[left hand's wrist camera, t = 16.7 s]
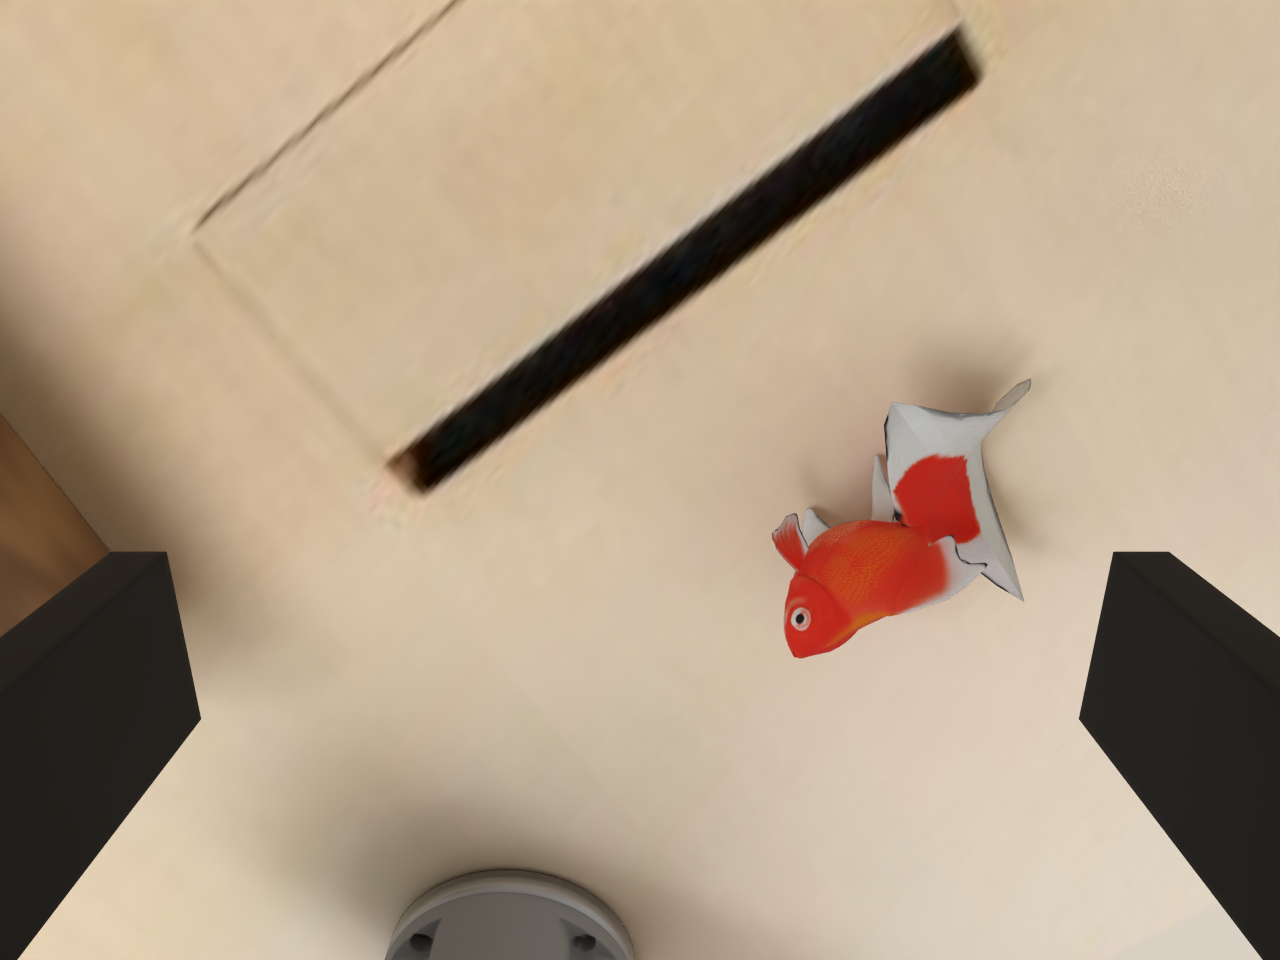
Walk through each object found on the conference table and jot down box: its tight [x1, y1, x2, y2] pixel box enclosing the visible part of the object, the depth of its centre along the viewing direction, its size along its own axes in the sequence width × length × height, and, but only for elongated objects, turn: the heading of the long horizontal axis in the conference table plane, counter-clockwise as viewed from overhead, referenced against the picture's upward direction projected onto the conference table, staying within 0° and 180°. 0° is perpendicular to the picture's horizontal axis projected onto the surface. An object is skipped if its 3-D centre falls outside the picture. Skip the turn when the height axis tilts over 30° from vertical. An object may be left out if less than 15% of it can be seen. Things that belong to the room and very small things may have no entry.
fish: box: [772, 379, 1031, 658], centre depth 40 cm, size 11×16×10 cm
